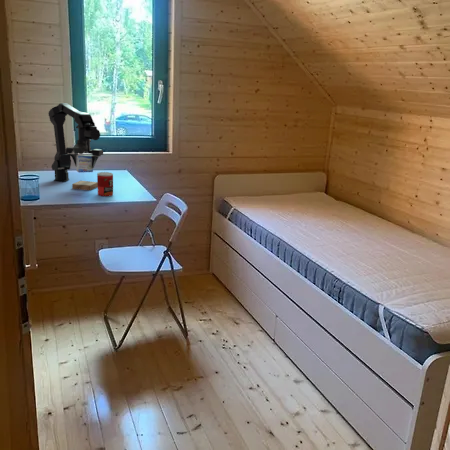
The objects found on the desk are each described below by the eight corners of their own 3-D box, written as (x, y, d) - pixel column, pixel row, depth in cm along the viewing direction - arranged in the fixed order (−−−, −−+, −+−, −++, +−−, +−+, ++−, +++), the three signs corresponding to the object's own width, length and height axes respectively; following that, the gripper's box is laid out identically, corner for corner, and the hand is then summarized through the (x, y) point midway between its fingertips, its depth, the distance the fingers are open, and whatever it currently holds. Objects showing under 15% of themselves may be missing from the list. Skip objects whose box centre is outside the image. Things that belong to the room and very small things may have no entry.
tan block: (72, 189, 253) (72, 184, 252) (80, 185, 262) (80, 180, 262) (90, 191, 252) (90, 185, 251) (98, 187, 261) (97, 182, 260)
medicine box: (78, 172, 251) (77, 156, 248) (76, 171, 255) (75, 154, 252) (93, 172, 254) (93, 156, 252) (91, 170, 258) (91, 154, 256)
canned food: (105, 197, 239) (105, 175, 236) (94, 194, 243) (93, 173, 240) (116, 194, 245) (116, 173, 242) (105, 192, 249) (105, 171, 246)
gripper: (59, 138, 243) (60, 168, 248) (94, 141, 241) (94, 171, 245) (70, 135, 254) (71, 165, 258) (103, 138, 251) (103, 168, 256)
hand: (84, 167), depth 254 cm, fingers closed on medicine box, 9 cm apart
